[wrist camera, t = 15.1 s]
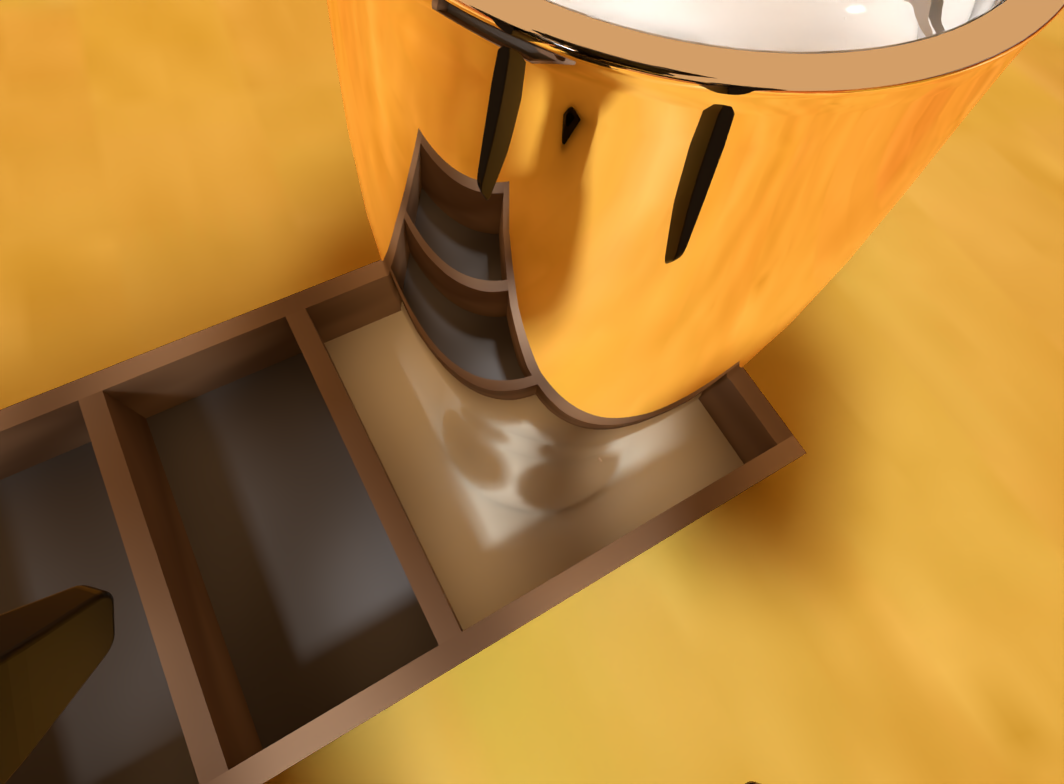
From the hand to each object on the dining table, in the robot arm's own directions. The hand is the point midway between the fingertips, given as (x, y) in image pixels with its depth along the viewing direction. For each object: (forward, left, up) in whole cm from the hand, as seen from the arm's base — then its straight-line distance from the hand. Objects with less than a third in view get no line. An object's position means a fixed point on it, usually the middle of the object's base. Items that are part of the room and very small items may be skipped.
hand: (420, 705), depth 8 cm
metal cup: (+6, +5, -8) cm, 11 cm away
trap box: (0, +6, -9) cm, 10 cm away
